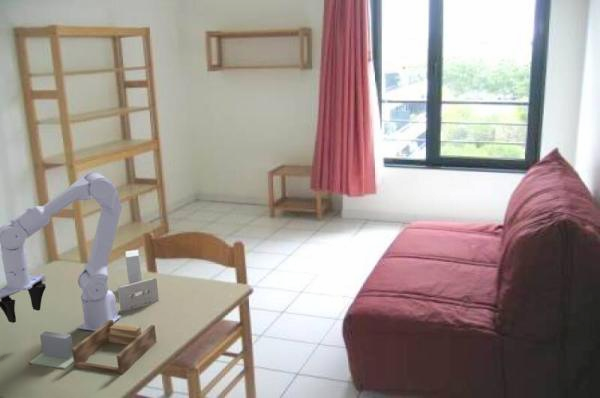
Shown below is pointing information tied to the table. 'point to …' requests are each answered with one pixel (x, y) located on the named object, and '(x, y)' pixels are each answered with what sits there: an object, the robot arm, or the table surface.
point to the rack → (123, 358)
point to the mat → (52, 361)
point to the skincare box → (133, 266)
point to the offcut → (123, 333)
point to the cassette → (140, 299)
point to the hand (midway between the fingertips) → (24, 315)
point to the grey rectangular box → (56, 345)
